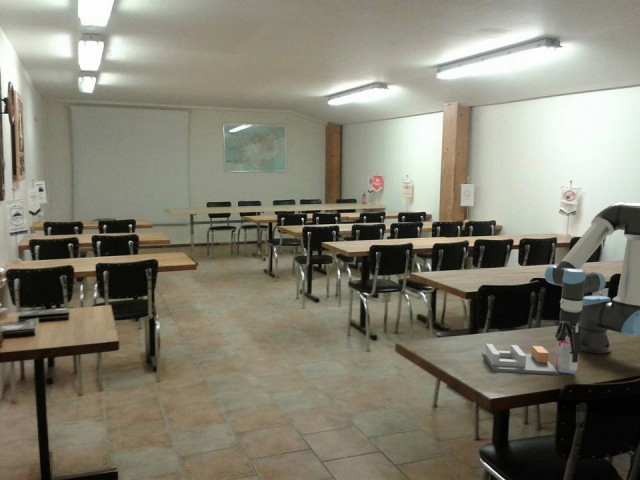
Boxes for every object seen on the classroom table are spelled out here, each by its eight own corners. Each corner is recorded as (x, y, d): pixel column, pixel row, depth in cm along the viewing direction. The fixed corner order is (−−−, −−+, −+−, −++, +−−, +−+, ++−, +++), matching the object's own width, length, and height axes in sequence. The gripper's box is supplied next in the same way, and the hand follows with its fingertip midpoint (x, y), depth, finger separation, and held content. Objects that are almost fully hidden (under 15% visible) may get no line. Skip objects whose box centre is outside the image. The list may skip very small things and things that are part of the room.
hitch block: (541, 357, 225) (542, 343, 224) (558, 374, 206) (559, 360, 205) (482, 354, 226) (483, 341, 226) (493, 371, 208) (494, 356, 207)
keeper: (541, 355, 222) (542, 346, 222) (547, 362, 214) (548, 352, 214) (531, 355, 222) (532, 345, 222) (537, 362, 215) (538, 352, 214)
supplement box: (575, 375, 206) (578, 346, 204) (558, 373, 207) (561, 344, 205) (571, 369, 211) (574, 341, 210) (555, 368, 213) (558, 340, 211)
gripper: (549, 301, 218) (545, 351, 221) (573, 318, 194) (568, 375, 197) (568, 302, 218) (564, 352, 221) (595, 319, 193) (589, 376, 196)
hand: (566, 363), depth 209 cm, fingers open, 13 cm apart
